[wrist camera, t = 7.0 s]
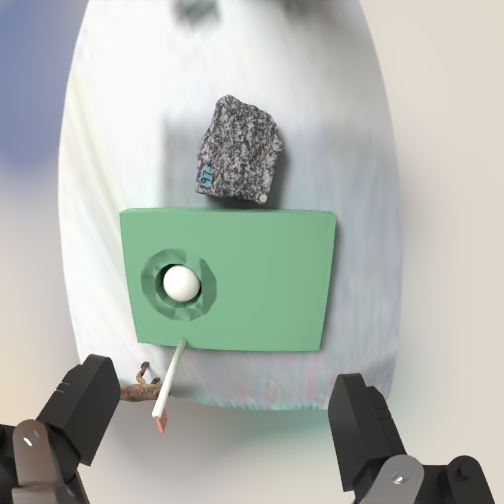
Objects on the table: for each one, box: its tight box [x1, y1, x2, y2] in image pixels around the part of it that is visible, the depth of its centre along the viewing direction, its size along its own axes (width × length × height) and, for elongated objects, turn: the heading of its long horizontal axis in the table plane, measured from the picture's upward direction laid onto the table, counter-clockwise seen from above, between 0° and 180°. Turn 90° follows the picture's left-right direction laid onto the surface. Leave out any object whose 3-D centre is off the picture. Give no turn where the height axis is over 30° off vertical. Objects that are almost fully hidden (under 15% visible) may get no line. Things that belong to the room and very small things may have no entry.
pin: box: [152, 338, 187, 433], centre depth 27 cm, size 3×1×12 cm, turn 179°
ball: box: [164, 264, 200, 301], centre depth 31 cm, size 4×4×4 cm
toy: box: [120, 362, 171, 402], centre depth 36 cm, size 6×9×15 cm
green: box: [120, 208, 336, 351], centre depth 32 cm, size 16×22×2 cm
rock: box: [195, 95, 284, 205], centre depth 27 cm, size 8×10×4 cm
